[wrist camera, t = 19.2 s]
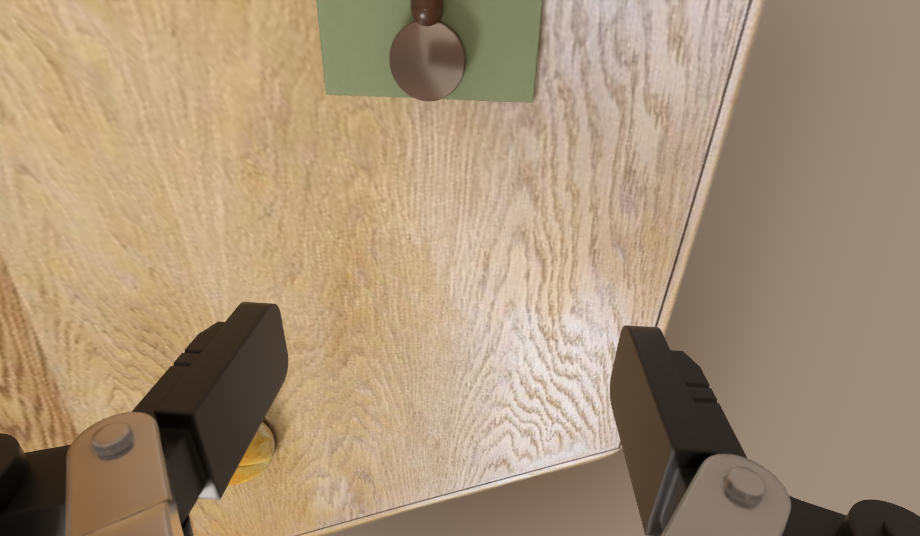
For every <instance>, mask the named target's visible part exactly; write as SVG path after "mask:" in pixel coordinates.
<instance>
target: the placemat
mask: <svg viewBox="0 0 920 536" xmlns="http://www.w3.org/2000/svg"><path fill="white" fill-rule="evenodd" d="M317 10H318V19H319V29H320V39H321V49H322V59H323V69H324V79H325V89H326V94H327V95H350V96H376V97H402V98H413V97H411V96H409V95H408V94H406V93H405V92H404V91H403V90H402V89H401V88H400V87H399V86H398V84H397V83H396V81H395V79H394V77H393V75H392V72H391V69H390V62H389V55H390V49H391V45H392V43H393V40H394V39H395V37H396V35H397V34H398V33H399V31H400V30H401V29H402V28H404V27H405V26H406V25H408V24H410V23H412V22H414V21H415V20H414V18H413V16H412V14H411V8H410V0H317ZM541 10H542V0H444V10H443V15H442V18H441V19H440V21H442V22H444V23H446V24H448V25H449V26H450V27H452V28H453V29H454V30H455V31H456V32H457V34H458V35H459V36H460V38H461V40H462V42H463V44H464V48H465V52H466V68H465V72H464V75H463V77H462V80H461V82H460V83H459V85H458V86H457V88H456V89H455V90H454V91H453V92H452V93H451V94H449V95H448V96H446V97H445V98H442V99H455V100H481V101H507V102H533V99H534V88H535V77H536V66H537V55H538V44H539V32H540V21H541Z"/></svg>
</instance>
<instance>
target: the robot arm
mask: <svg viewBox="0 0 920 536" xmlns="http://www.w3.org/2000/svg"><path fill="white" fill-rule="evenodd" d="M287 369H288V353H287V347H286V341H285V336H284V330H283V325H282V319H281V314H280V310H279V307H278V306H277V305H276V304H269V303H252V302H243V303H241V304H240V305H239V306H238V307H237V308H236V309H235V311H234V312H233V313H232V314H231V316H230V317H229V318H228V319H227V321H226V322H217V323H215V324H214V325H212V326H211V327H209V328H208V329H206V330H204V331H203V332H201V333H200V334H198V335H197V336H196V338H195V339H194V340H193V341H192V342H191V343H190V344H189V346H188V347H187V348H186V349H185V353H182V354H181V355H180V356H179V357H178V358H177V360H176V361H175V362H174V366H171V367H170V368H169V369H168V370H167V371H166V372H165V374H164V375H163V376H162V377H161V378H160V379H159V381H158V382H157V383H156V384H155V385H154V386H153V388H152V389H151V390H150V391H149V392H148V393H147V395H146V396H145V397H144V398H143V399H142V400H141V402H140V403H139V404H138V405H137V406H136V407H135V409H134V410H133V411H132V412H127V413H121V414H117V415H114V416H110V417H108V418H105V419H103V420H101V421H99V422H97V423H95V424H93V425H92V426H90V427H89V428H87V429H86V430H84V431H83V432H82V433H81V434H80V435H79V436H78V437H77V438H76V439H75V440H74V441H73V442H72V444H71V445H67V446H61V447H56V448H50V449H44V450H39V451H33V452H27V453H24V452H23V450H22V448H21V446H20V445H19V443H18V441H17V440H16V439H15V438H14V437H13V436H11V435H8V434H2V433H0V536H196V533H195V529H194V524H193V520H192V517H191V514H190V511H191V509H192V508H193V506H194V504H195V503H196V501H197V499H198V498H203V499H216V500H220V499H221V497H222V495H223V493H224V491H225V489H226V488H227V486H228V484H229V482H230V480H231V478H232V477H233V475H234V473H235V471H236V469H237V467H238V466H239V464H240V462H241V460H242V458H243V456H244V454H245V453H246V451H247V449H248V447H249V445H250V443H251V442H252V440H253V438H254V436H255V434H256V432H257V431H258V429H259V427H260V425H261V423H262V421H263V419H264V418H265V416H266V414H267V412H268V410H269V408H270V407H271V405H272V403H273V401H274V399H275V397H276V396H277V394H278V392H279V390H280V388H281V386H282V384H283V383H284V380H285V378H286V374H287ZM610 399H611V405H612V409H613V413H614V417H615V421H616V425H617V428H618V432H619V436H620V440H621V444H622V448H623V451H624V455H625V459H626V463H627V467H628V471H629V474H630V478H631V482H632V486H633V490H634V494H635V497H636V501H637V505H638V509H639V513H640V516H641V521H642V524H643V528H644V532H645V535H649V536H920V517H919V516H918V515H916V514H914V513H913V512H911V511H909V510H907V509H905V508H903V507H900V506H898V505H895V504H892V503H889V502H885V501H880V500H863V501H860V502H858V503H856V504H854V505H853V507H852V508H851V510H850V511H849V513H848V514H847V516H846V515H843V514H840V513H837V512H834V511H831V510H828V509H825V508H822V507H819V506H816V505H813V504H810V503H807V502H804V501H801V500H798V499H796V498H793V497H791V496H789V494H788V492H787V491H786V489H785V487H784V486H783V484H782V483H781V482H780V481H779V480H778V478H777V477H776V476H775V475H773V474H772V473H771V472H770V471H769V470H767V469H766V468H764V467H763V466H761V465H759V464H758V463H756V462H754V461H752V460H750V459H748V458H747V457H746V455H745V454H744V451H743V449H742V447H741V445H740V443H739V441H738V439H737V438H736V436H735V434H734V432H733V430H732V428H731V426H730V424H729V422H728V420H727V418H726V416H725V414H724V412H723V410H722V409H721V406H720V405H719V403H717V399H716V397H715V395H714V393H713V391H712V389H711V388H709V383H708V381H707V379H706V378H705V376H704V374H703V372H702V370H701V368H700V367H699V366H698V365H697V364H696V363H695V362H694V361H693V360H692V359H691V358H690V357H689V356H687V355H686V354H685V353H684V352H683V351H672V350H670V349H669V347H668V345H667V342H666V340H665V338H664V336H663V334H662V332H661V330H660V329H659V328H658V327H642V326H624V327H623V328H622V330H621V334H620V338H619V343H618V347H617V352H616V356H615V361H614V366H613V370H612V375H611V381H610Z"/></svg>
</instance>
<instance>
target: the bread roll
mask: <svg viewBox="0 0 920 536" xmlns="http://www.w3.org/2000/svg"><path fill="white" fill-rule="evenodd" d="M274 451H275V441H274V437H273V435H272V432H271V431H270V429H269V427H268V426H266V425H265V423H264V422H262V423H261V425H260V427H259V429H258V431H257V432H256V434H255V436H254V438H253V440H252V442H251V443H250V445H249V447H248V449H247V451H246V453H245V454H244V456H243V458H242V460H241V462H240V464H239V466H238V467H237V469H236V471H235V473H234V475H233V477H232V478H231V480H230V482H229V484H228V485H236V484H241V483H244V482H247V481H250V480H252V479H254V478H255V477H257V476H259V475H260V474H261V473H262V472H264V471H265V470H266V468H267V467H268V466H269V464H270V463H271V460H272V457H273V453H274Z"/></svg>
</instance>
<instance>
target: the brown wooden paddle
mask: <svg viewBox="0 0 920 536" xmlns="http://www.w3.org/2000/svg"><path fill="white" fill-rule="evenodd" d="M410 8H411V14H412V16H413V18H414V20H415V21H414V22H412V23H410V24H408V25H406V26H405V27H404V28H402V29H401V30H400V31H399V33H398V34H397V35H396V37H395V39H394V40H393V43H392V45H391V49H390V55H389V62H390V69H391V72H392V75H393V77H394V79H395V81H396V83H397V84H398V86H399V87H400V88H401V89H402V90H403V91H404V92H405V93H406V94H408V95H409V96H411V97H413V98H415V99H418V100H422V101H436V100H440V99H442V98H445V97H446V96H448V95H449V94H451V93H452V92H453V91H454V90H455V89H456V88H457V86H458V85H459V83H460V82H461V80H462V77H463V75H464V72H465V68H466V52H465V48H464V44H463V42H462V40H461V38H460V36H459V35H458V34H457V32H456V31H455V30H454V29H453V28H452V27H450V26H449V25H448V24H446V23H444V22H442V21H440V19H441V18H442V15H443V10H444V0H410Z"/></svg>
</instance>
